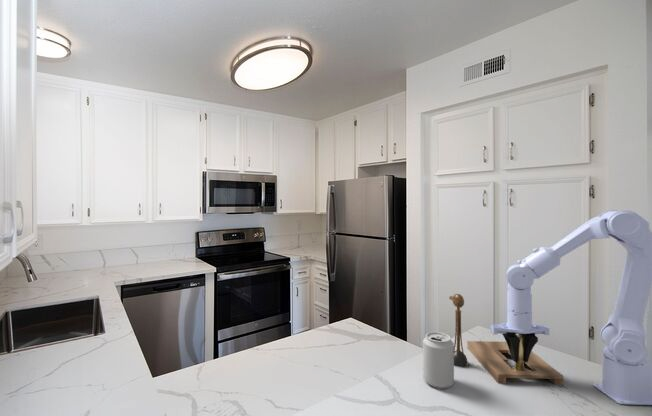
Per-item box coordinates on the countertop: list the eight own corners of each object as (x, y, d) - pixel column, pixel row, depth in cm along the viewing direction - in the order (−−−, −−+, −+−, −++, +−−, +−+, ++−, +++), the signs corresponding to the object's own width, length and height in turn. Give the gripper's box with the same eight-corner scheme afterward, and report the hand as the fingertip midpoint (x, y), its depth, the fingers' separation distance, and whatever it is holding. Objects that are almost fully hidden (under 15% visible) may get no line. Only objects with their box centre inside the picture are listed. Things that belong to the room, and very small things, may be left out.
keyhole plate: (519, 349, 100) (519, 341, 100) (563, 384, 80) (563, 375, 80) (467, 348, 101) (467, 341, 101) (498, 383, 81) (498, 374, 81)
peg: (522, 369, 88) (522, 333, 88) (532, 377, 84) (532, 339, 84) (508, 369, 88) (507, 333, 88) (517, 377, 84) (517, 339, 84)
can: (417, 381, 82) (417, 335, 82) (432, 371, 87) (432, 327, 87) (445, 394, 77) (444, 344, 77) (459, 382, 82) (459, 336, 82)
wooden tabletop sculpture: (444, 358, 95) (444, 291, 95) (458, 356, 96) (457, 290, 96) (456, 368, 89) (456, 296, 89) (471, 366, 90) (470, 295, 90)
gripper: (537, 305, 89) (538, 353, 89) (485, 305, 90) (485, 352, 90) (554, 314, 82) (554, 366, 82) (497, 313, 83) (497, 365, 83)
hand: (519, 360), depth 86 cm, fingers closed on peg, 2 cm apart
